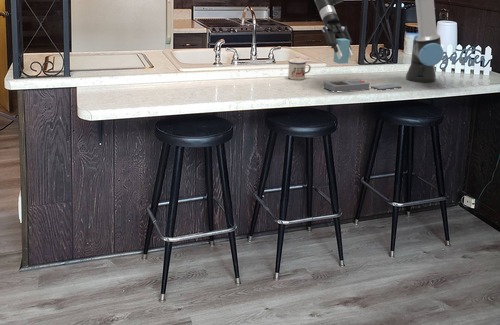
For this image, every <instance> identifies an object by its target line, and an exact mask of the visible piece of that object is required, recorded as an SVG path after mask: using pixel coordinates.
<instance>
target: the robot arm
mask: <svg viewBox="0 0 500 325" xmlns="http://www.w3.org/2000/svg"><path fill="white" fill-rule="evenodd" d="M344 1H345V0H314V3H315V5H316V7H317V10H318V13H319V16H320V18H321V20H322V23H323V27H322V29H321V32H322V33H323V36H324V38H325V41H326V44H327V46H328V47H330V49H333V51H334V52H335V53H336V54H337V56H338V59H340V58H341V57H342V53H341V51H340V48H339V46H338V44H337V45H336V39H337V38H336V36H337V37H338V39H343V38H344V39H348V40H350V47H349V58H348V59H351V58H352V57H353V52H352V47H351V45H352V43H353V40H352V37H351V36H350V33H349V30H348V27H347V25H344V26H342V24H341V22H340V18H339V16H338V14H337V12H336V9H335V6H336V5H337V4H340V3H342V2H344ZM415 9H416V10H415V11H416V20H417V21H416V22H417V30H418V35H417V34H416V35H414V36H413V40H412V50H411V60H410V61H411V62H410V65H409V67H408V71H407V73H406V74H405V79H406V80H408V81H411V82H416V83H417V82H418V83H432V82H436V77H437V76H436V71H435V66H436V65H439V63H440V62H441V61H442V59H443V57H444V49H443V47H442V42H441V35H439V34H438V33H437V32H438V31H437V23H436V10H435V0H415ZM334 52H333V53H334Z"/></svg>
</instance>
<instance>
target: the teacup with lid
mask: <svg viewBox="0 0 500 325" xmlns="http://www.w3.org/2000/svg"><path fill="white" fill-rule="evenodd" d="M306 66H308V70H307V71H306ZM311 70H312V66H311V65H310V64H308V63H307V61H306V60H305V59H303V58H301V57H300V56H299V55H295V57H294V58H292V59H289V60H288V73H287V74H288V75H287V76H288V77H287V78H288V79H289V78H290V80H293V79H294V81H295V80H296V81H301V79H302V80H305V78H306V74H309V73H310V72H311Z"/></svg>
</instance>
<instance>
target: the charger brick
mask: <svg viewBox="0 0 500 325" xmlns="http://www.w3.org/2000/svg"><path fill="white" fill-rule="evenodd" d="M335 39H336V45H337V44H338V46H339V48H340V51H341V53H342V57H341V58H340V59H338V56H337V54H336V53H335V52H333V63H335V64H340V65H341V64H348V63H349V59H350V58H349V47H351V45H350V40H348V39H344V38H343V39H340V38H335Z"/></svg>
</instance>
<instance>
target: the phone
mask: <svg viewBox="0 0 500 325" xmlns="http://www.w3.org/2000/svg"><path fill="white" fill-rule="evenodd" d="M370 87H371V88H370ZM369 88H370V89H372V88H374V89H373V90H375V89H377V90H376V91H378V90H382V91H387V90H386V89H390V90H395V89H394V88H398V89H402V86H400V85H396V84H393V83H389V84H380V85H373V86H372V85H371V86H370V85H369Z"/></svg>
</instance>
